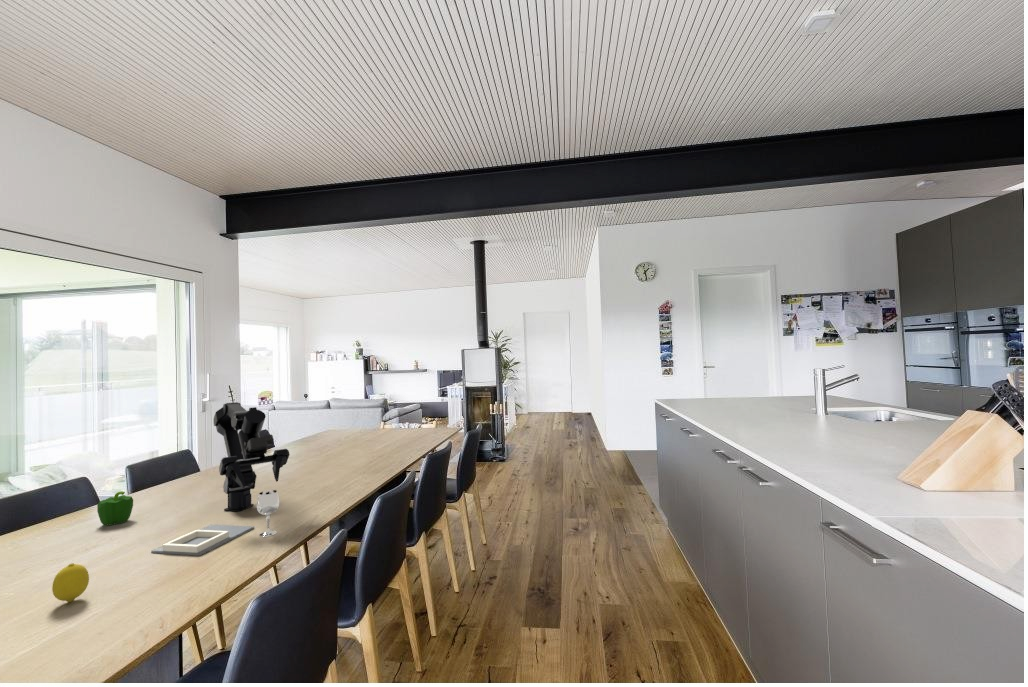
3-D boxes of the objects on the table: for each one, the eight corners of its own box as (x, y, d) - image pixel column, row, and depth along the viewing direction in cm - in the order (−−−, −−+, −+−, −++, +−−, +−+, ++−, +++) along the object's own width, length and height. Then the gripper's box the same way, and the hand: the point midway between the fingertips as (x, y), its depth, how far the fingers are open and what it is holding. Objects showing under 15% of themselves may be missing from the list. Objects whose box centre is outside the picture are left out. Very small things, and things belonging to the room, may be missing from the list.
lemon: (68, 596, 97) (68, 558, 98) (95, 594, 98) (96, 557, 98) (43, 610, 92) (44, 570, 92) (73, 608, 92) (73, 568, 93)
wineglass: (283, 531, 132) (283, 490, 133) (265, 538, 127) (265, 496, 127) (270, 529, 134) (270, 488, 135) (252, 536, 129) (252, 494, 130)
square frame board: (151, 552, 119) (151, 544, 119) (210, 526, 138) (210, 519, 138) (200, 555, 117) (200, 547, 117) (254, 528, 135) (254, 521, 135)
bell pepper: (91, 526, 141) (91, 494, 141) (122, 517, 148) (122, 486, 149) (107, 529, 138) (107, 496, 138) (138, 520, 145) (138, 489, 146)
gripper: (221, 431, 134) (229, 474, 126) (287, 423, 147) (299, 462, 139) (215, 453, 140) (223, 496, 132) (280, 445, 153) (291, 483, 144)
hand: (260, 483), depth 137 cm, fingers open, 9 cm apart
